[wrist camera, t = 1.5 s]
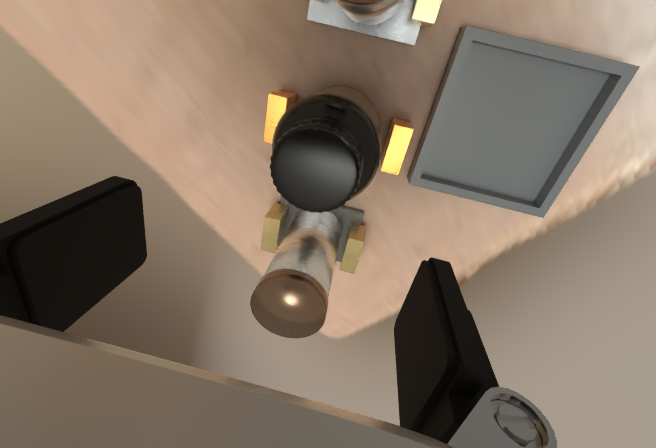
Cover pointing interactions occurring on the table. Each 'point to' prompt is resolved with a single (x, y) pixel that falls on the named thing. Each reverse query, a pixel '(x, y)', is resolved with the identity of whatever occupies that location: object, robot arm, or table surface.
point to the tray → (514, 119)
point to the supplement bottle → (326, 149)
